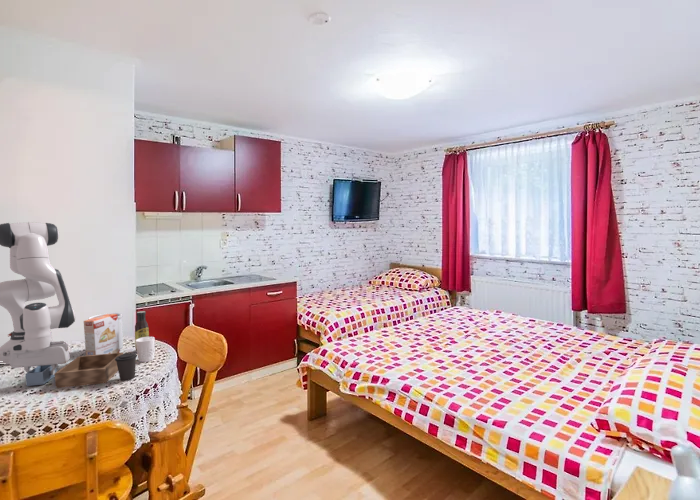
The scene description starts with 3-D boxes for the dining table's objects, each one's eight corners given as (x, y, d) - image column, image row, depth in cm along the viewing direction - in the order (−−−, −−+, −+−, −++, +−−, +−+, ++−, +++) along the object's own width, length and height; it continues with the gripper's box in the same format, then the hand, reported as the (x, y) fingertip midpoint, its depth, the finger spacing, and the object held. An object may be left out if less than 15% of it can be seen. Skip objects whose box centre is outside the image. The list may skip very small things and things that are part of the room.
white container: (103, 344, 207) (101, 312, 206) (130, 344, 206) (128, 312, 205) (83, 354, 192) (80, 319, 191) (112, 353, 192) (109, 319, 190)
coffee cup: (142, 373, 165) (140, 351, 164) (132, 381, 156) (130, 357, 156) (123, 374, 164) (121, 351, 164) (112, 382, 156) (110, 358, 155)
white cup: (134, 360, 182) (133, 339, 181) (152, 355, 188) (150, 335, 187) (140, 364, 176) (139, 342, 176) (158, 359, 182) (157, 338, 181)
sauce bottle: (139, 353, 191) (137, 314, 190) (133, 351, 194) (130, 312, 193) (152, 349, 197) (150, 311, 195) (145, 347, 200) (143, 310, 198)
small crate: (26, 386, 154) (25, 373, 153) (41, 376, 164) (40, 364, 163) (43, 384, 155) (42, 372, 155) (57, 374, 165) (56, 363, 164)
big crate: (55, 388, 152) (54, 373, 152) (79, 369, 172) (78, 356, 171) (106, 383, 156) (104, 368, 156) (124, 365, 176) (123, 352, 175)
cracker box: (97, 366, 175) (93, 321, 174) (86, 365, 177) (82, 320, 175) (121, 355, 189) (117, 313, 187) (110, 354, 190) (107, 313, 189)
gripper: (71, 338, 163) (73, 370, 164) (15, 342, 159) (18, 375, 160) (63, 343, 157) (66, 375, 158) (5, 347, 153) (8, 381, 154)
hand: (41, 375), depth 159 cm, fingers closed on small crate, 6 cm apart
